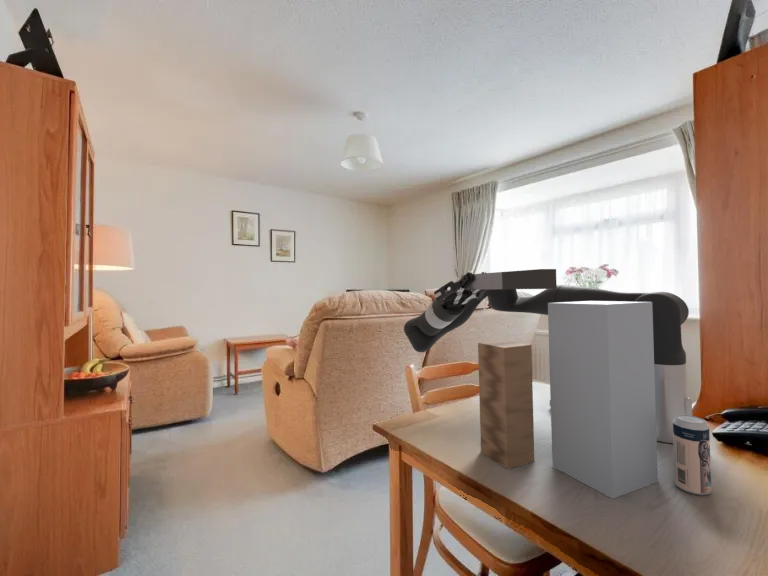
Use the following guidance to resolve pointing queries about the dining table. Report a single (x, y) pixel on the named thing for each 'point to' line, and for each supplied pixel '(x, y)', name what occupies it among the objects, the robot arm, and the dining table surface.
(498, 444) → the walnut block
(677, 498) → the dining table surface
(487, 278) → the dark grey long bar
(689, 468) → the cream and blue canister
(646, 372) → the tall stand
